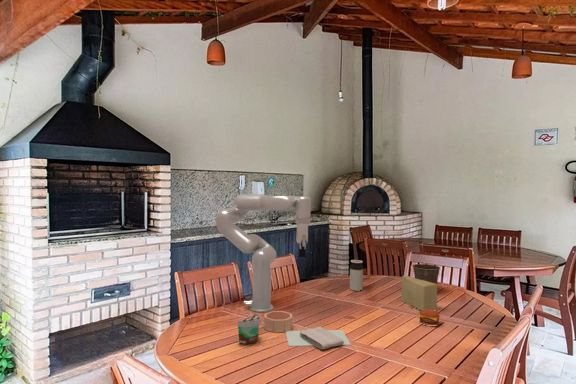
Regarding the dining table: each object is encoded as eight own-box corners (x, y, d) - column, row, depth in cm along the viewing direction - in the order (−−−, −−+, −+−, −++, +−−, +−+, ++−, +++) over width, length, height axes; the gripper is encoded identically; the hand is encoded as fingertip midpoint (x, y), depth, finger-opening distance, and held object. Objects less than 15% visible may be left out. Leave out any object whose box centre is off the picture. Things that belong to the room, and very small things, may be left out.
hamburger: (437, 328, 186) (437, 314, 186) (416, 324, 192) (416, 310, 191) (441, 322, 194) (442, 309, 194) (421, 319, 200) (421, 305, 199)
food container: (248, 349, 160) (249, 324, 160) (236, 345, 164) (237, 321, 163) (266, 338, 171) (266, 315, 171) (254, 335, 174) (255, 312, 174)
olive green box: (395, 301, 227) (395, 275, 227) (408, 299, 231) (409, 274, 231) (423, 313, 207) (424, 285, 207) (437, 311, 211) (438, 283, 211)
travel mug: (362, 291, 246) (363, 262, 245) (349, 290, 248) (349, 261, 247) (362, 288, 254) (363, 260, 253) (349, 287, 255) (350, 259, 255)
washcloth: (319, 331, 180) (319, 324, 180) (345, 345, 165) (345, 337, 165) (297, 336, 174) (297, 329, 174) (322, 351, 159) (322, 343, 159)
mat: (288, 346, 164) (288, 345, 164) (285, 331, 180) (285, 330, 180) (351, 345, 166) (351, 344, 166) (342, 330, 182) (342, 330, 182)
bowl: (264, 333, 177) (264, 320, 177) (263, 322, 190) (263, 311, 190) (293, 332, 178) (293, 320, 178) (290, 322, 191) (291, 310, 191)
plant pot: (409, 288, 257) (410, 263, 256) (436, 289, 255) (436, 264, 254) (414, 295, 241) (415, 268, 240) (442, 296, 238) (443, 269, 238)
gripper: (294, 219, 210) (293, 253, 211) (297, 222, 195) (296, 259, 196) (308, 219, 211) (307, 253, 211) (312, 222, 196) (311, 259, 196)
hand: (302, 256), depth 203 cm, fingers closed
